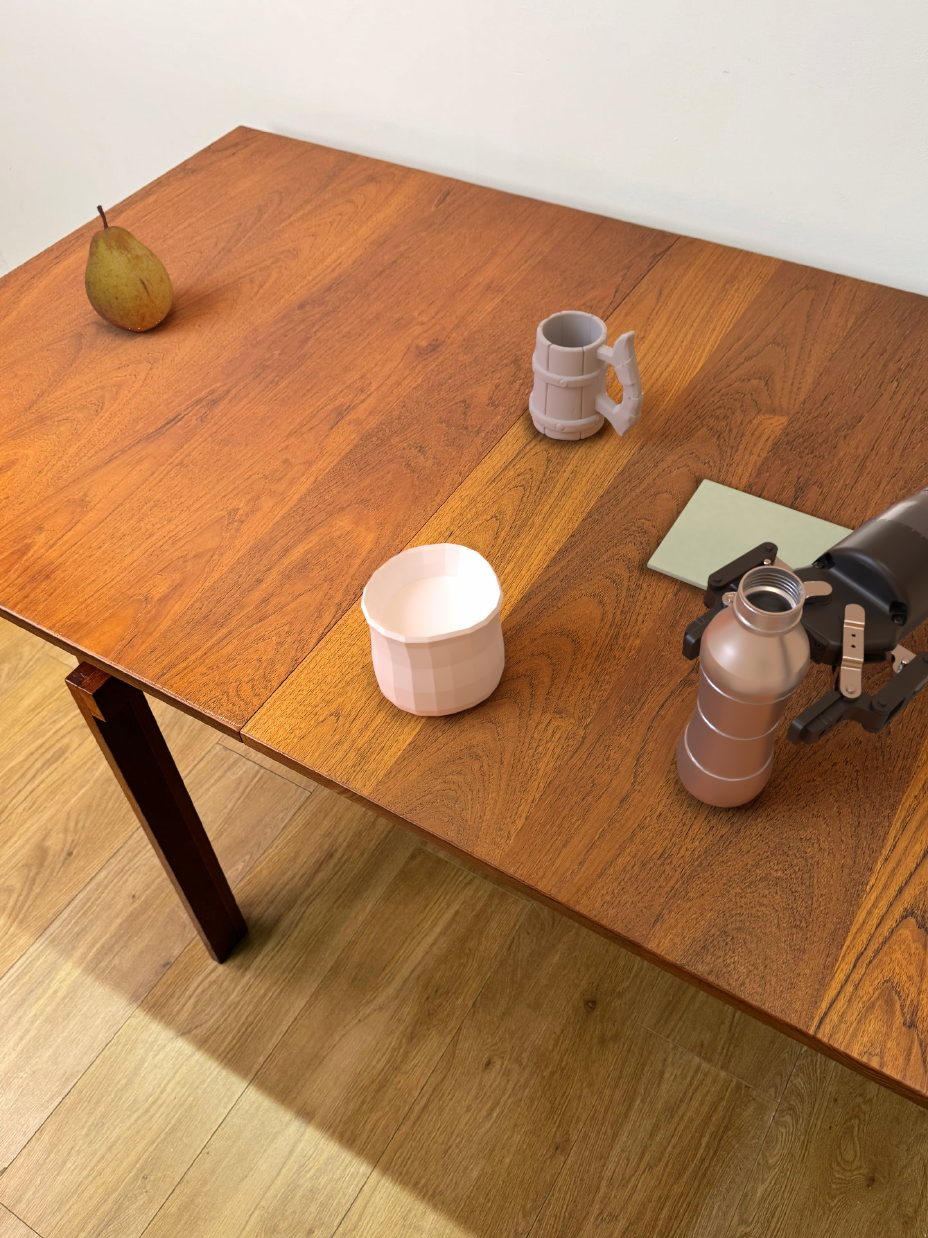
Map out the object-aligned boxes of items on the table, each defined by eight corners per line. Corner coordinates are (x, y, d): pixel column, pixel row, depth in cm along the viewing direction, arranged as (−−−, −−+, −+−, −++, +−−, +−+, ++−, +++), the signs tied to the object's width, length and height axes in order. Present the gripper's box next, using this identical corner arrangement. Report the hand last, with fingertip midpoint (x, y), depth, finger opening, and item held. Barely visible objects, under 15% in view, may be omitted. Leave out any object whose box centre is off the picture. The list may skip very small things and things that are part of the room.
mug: (560, 383, 100) (564, 275, 91) (659, 430, 95) (674, 320, 86) (512, 421, 97) (511, 313, 87) (612, 472, 91) (622, 362, 82)
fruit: (165, 343, 108) (132, 239, 99) (86, 338, 109) (46, 235, 100) (191, 298, 113) (162, 196, 104) (116, 294, 115) (81, 193, 105)
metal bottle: (779, 760, 71) (849, 569, 56) (745, 835, 67) (810, 653, 52) (693, 724, 73) (738, 531, 58) (656, 795, 70) (694, 609, 54)
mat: (857, 536, 85) (859, 532, 84) (809, 631, 78) (811, 627, 78) (703, 482, 90) (704, 478, 90) (646, 567, 84) (647, 563, 83)
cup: (529, 665, 78) (530, 581, 70) (442, 748, 73) (433, 667, 65) (439, 606, 82) (431, 520, 74) (352, 681, 77) (334, 598, 70)
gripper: (974, 663, 67) (815, 799, 61) (804, 547, 74) (648, 658, 68) (1016, 589, 61) (846, 731, 55) (828, 471, 69) (660, 585, 63)
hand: (737, 690), depth 62 cm, fingers open, 8 cm apart
